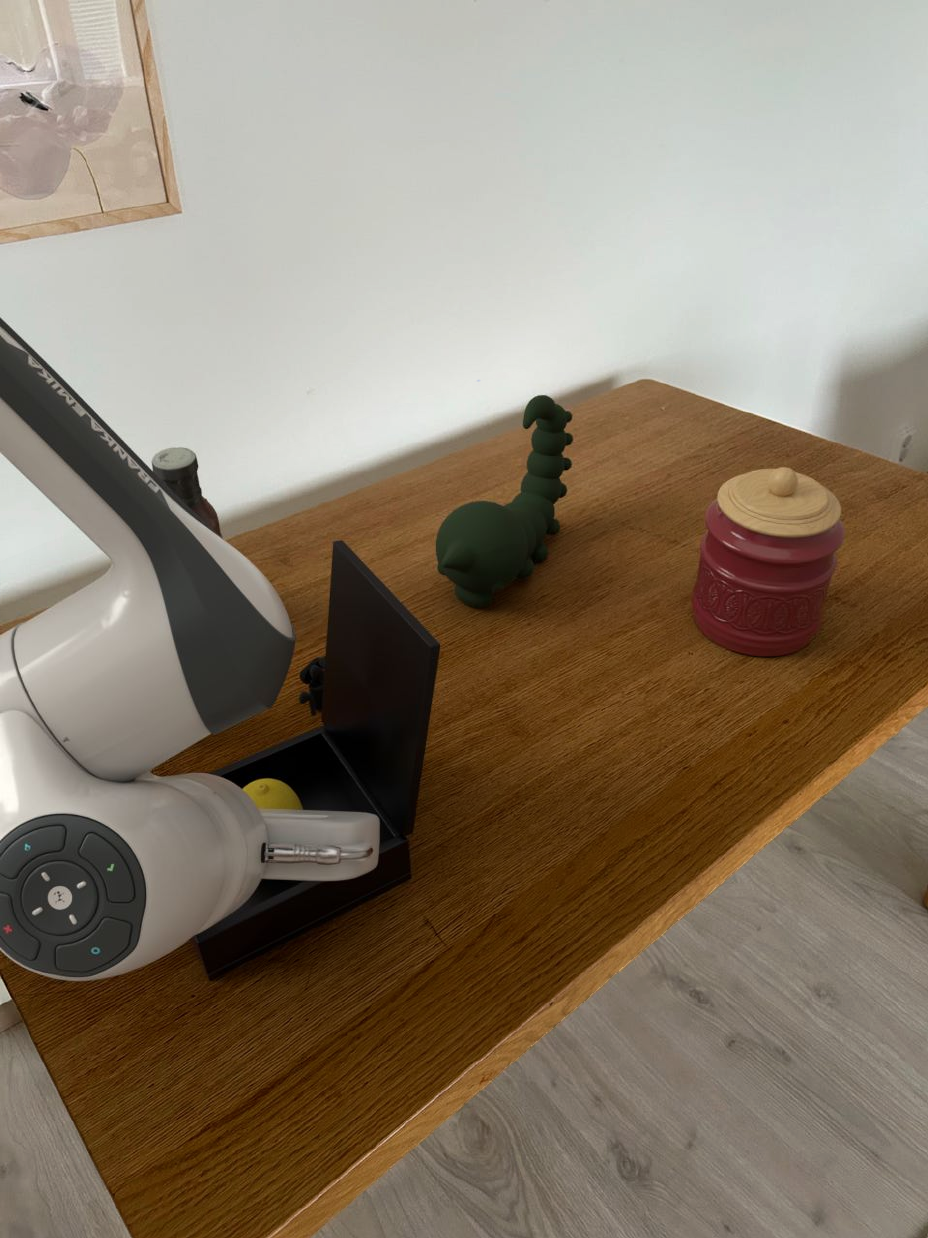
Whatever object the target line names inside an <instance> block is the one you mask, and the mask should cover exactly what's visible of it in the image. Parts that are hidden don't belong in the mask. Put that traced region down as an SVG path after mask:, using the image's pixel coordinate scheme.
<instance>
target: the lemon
mask: <svg viewBox="0 0 928 1238" xmlns="http://www.w3.org/2000/svg"><path fill="white" fill-rule="evenodd" d="M242 790H243V791H245V792H246V793H247V794H248V795H249V797H250V798H251V799H252V800H253V801H254V803H255V804H256V806H257V807H258V808H259V809H287V810H303V808H302V805H301V803H300V800H299V798H298V796H297V795H296V793H295V792H294V791H293V790H292V789H291V788H290V787H289V786H288V785H287V784H285V783H283V782H282V781H279V780H276V779H268V778H266V779H259V780H256V781H253V782H251V783H249V784H248V785H247V786H245V787H244V788H243V789H242Z"/></svg>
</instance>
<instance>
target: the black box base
mask: <svg viewBox="0 0 928 1238" xmlns="http://www.w3.org/2000/svg"><path fill="white" fill-rule="evenodd" d="M207 774H212V775H216V776H219V777H222V778H224V779H227V780H229V781H231V782H232V783H234V784H236V785H237V786H238V787H240V788H241V789H243V788H244V787H245V786H247V785H248V784H249V783H251V782H253V781H256V780H259V779H266V778H268V779H276V780H279V781H282V782H283V783H285V784H287V785H288V786H289V787H290V788H291V789H292V790H293V791H294V792H295V793H296V795H297V796H298V798H299V800H300V803H301V805H302V808H303V810H315V811H343V812H365V813H371V814H374V815H376V816H378V818H379V821H380V842H379V857H378V864H377V866H376V867H375V868H374V869H373V870H372V871H370V872H368V873H366V874H364V875H361V876H359V877H356V878H353V879H348V880H338V881H305V880H280V879H261V881H260V883H259V885H258V886H257V888H256V890H255V891H254V893H253V894H252V895H251V896H250V898H249V899H248V900H247V901H246V902H245V903H244V904H243V905H242V906H241V907H239V908H238V909H237V910H236V911H234V912H233V913H231V914H230V915H228V916H226V917H225V918H223V919H222V920H220V921H219V922H217V923H216V924H214V925H212V926H211V927H209V928H208V929H206V930H204V931H203V932H201V933H199V934H196V935H194V936H193V937H191V938H190V939H189V941H190V942H191V945H192V946H193V948H194V951H195V953H196V956H197V957H198V960H199V962H200V964H201V966H202V968H203V970H204V973H205V975H206V977H207V979H208V981H209V982H211V981H213V980H215V979H217V978H219V977H221V976H223V975H225V974H227V973H229V972H231V971H233V970H236V969H237V968H239V967H241V966H243V965H245V964H247V963H248V962H251V961H252V960H255V959H257V958H258V957H260V956H263V955H265V954H266V953H268V952H270V951H272V950H274V949H276V948H278V947H280V946H282V945H284V944H286V943H288V942H290V941H292V940H293V939H296V938H298V937H300V936H302V935H303V934H306V933H308V932H310V931H311V930H313V929H315V928H318V927H319V926H321V925H323V924H325V923H327V922H329V921H331V920H333V919H336V918H337V917H339V916H340V915H343V914H345V913H347V912H350V911H351V910H352V909H354V908H355V909H356V908H357V907H358V906H360V905H362V904H364V903H366V902H368V901H370V900H372V899H373V898H376V897H379V896H380V895H382V894H384V893H387V892H388V891H390V890H392V889H394V888H395V887H398V886H400V885H402V884H403V883H405V882H407V881H409V880H411V879H412V866H411V853H410V852H411V851H410V841H409V838H408V836H405V837H404V836H403V834H402V833H401V832H400V830H399V829H398V827H397V826H396V825H395V823H394V822H393V820H392V819H391V818H390V816H389V815H388V814H387V812H386V811H385V809H384V808H383V807H382V805H381V804H380V802H379V801H378V800H377V798H376V797H375V795H374V794H373V793H372V791H371V790H370V789H369V787H368V786H367V784H366V783H365V782H364V780H363V779H362V777H361V776H360V775H359V773H358V772H357V770H356V769H355V768H354V766H353V765H352V763H351V762H350V761H349V759H348V758H347V757H346V755H345V754H344V752H343V751H342V750H341V748H340V747H339V745H338V744H337V743H336V741H335V740H334V738H333V737H332V736H331V734H330V733H329V732H328V730H327V729H326V727H325V726H324V725H323V724H322V725H320V726H318V727H317V726H316V727H315V728H313V729H310V730H307V731H306V732H303V733H301V734H298V735H295V736H294V737H292V738H289V739H287V740H284V741H282V742H280V743H279V742H278V743H277V744H275V745H272V746H270V747H267V748H265V749H263V750H261V751H258V752H255V753H253V754H251V755H248V756H245V757H244V758H241V759H238V760H236V761H234V762H232V763H229V764H227V765H224V766H222V767H220V768H217V769H215V770H213V771H211V772H207Z"/></svg>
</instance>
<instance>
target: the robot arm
mask: <svg viewBox="0 0 928 1238" xmlns="http://www.w3.org/2000/svg"><path fill="white" fill-rule="evenodd" d="M0 454H1V455H2V456H3V457H5V459H6V460H7V461H9V463H10V464H12V465H13V466H14V467H15V469H17V470H18V471H19V472H20V473H21V474H22V475H23V476H24V478H26V479H27V480H28V481H29V482H30V483H31V484H32V485H33V486H34V487H35V488H36V489H37V490H38V491H39V492H41V493H42V494H43V496H45V497H46V499H48V500H49V501H50V502H51V503H52V504H53V505H54V506H55V507H56V508H57V509H58V510H59V511H60V512H61V513H62V514H64V516H65V517H67V519H68V520H70V521H71V522H72V523H73V525H75V526H76V527H77V528H78V529H79V530H80V531H81V532H82V533H83V534H84V535H85V536H86V537H87V538H88V539H89V540H90V541H91V542H92V543H93V544H94V545H95V546H97V547H98V548H99V549H100V550H101V552H103V553H104V555H106V556H107V557H108V558H109V559H110V561H111V562H112V563H111V566H110V567H109V568H108V570H107V572H105V573H104V574H103V575H102V576H100V577H98V578H97V579H96V580H94V581H92V582H91V583H89V584H87V585H85V586H84V587H82V588H81V589H79V590H77V591H76V592H74V593H72V594H70V595H69V596H67V597H65V598H64V599H61V601H59V602H57V603H56V604H54V605H52V606H50V607H48V608H47V609H45V610H43V611H41V612H40V613H39V614H37V615H35V616H34V617H32V618H29V620H27V621H23V622H19V624H17V625H15V626H13V627H12V628H10V629H8V630H7V631H5V632H3V633H2V634H0V952H2V953H3V955H5V956H6V957H7V958H8V959H9V960H11V961H12V962H14V963H15V964H17V965H18V966H20V967H22V968H24V969H25V970H27V971H29V972H33V973H35V974H37V975H41V976H44V977H47V978H51V979H54V980H62V981H69V982H90V981H97V980H98V981H99V980H102V979H107V978H108V979H109V978H112V977H116V976H120V975H124V974H127V973H130V972H133V971H135V970H138V969H140V968H143V967H145V966H148V965H149V964H152V963H154V962H156V961H157V960H160V959H161V958H163V957H165V956H167V955H168V954H170V953H172V952H174V951H175V950H177V949H178V948H180V947H182V945H184V944H186V943H187V942H189V941H190V938H191V937H193V936H194V935H196V934H199V933H201V932H203V931H204V930H206V929H208V928H209V927H211V926H212V925H214V924H216V923H217V922H219V921H220V920H222V919H223V918H225V917H226V916H228V915H230V914H231V913H233V912H234V911H236V910H237V909H238V908H239V907H241V906H242V905H243V904H244V903H245V902H246V901H247V900H248V899H249V898H250V896H251V895H252V894H253V893H254V891H255V890H256V888H257V886H258V885H259V883H260V881H261V879H280V880H305V881H338V880H348V879H353V878H356V877H359V876H361V875H364V874H366V873H368V872H370V871H372V870H373V869H374V868H375V867H376V866H377V864H378V857H379V842H380V821H379V818H378V816H376V815H374V814H371V813H365V812H343V811H315V810H287V809H259V808H258V807H257V806H256V804H255V803H254V801H253V800H252V799H251V798H250V797H249V795H248V794H247V793H246V792H245V791H243V790H242V789H241V788H240V787H238V786H237V785H236V784H234V783H232V782H231V781H229V780H227V779H224V778H222V777H219V776H216V775H212V774H208V773H206V772H188V773H180V774H173V775H166V776H158V775H155V774H154V773H152V772H151V771H152V770H153V769H155V768H157V767H158V766H160V765H162V764H163V763H165V762H167V761H168V760H170V759H172V758H173V757H175V756H177V755H178V754H180V753H181V752H183V751H185V750H187V749H189V748H190V747H192V746H194V745H195V744H197V743H198V742H200V741H202V740H203V739H205V738H206V737H208V736H210V735H214V736H216V735H218V734H219V733H222V732H224V731H226V730H228V729H230V728H232V727H234V726H236V725H238V724H240V723H242V722H245V721H246V720H248V719H251V718H253V717H255V716H257V715H259V714H261V713H263V712H265V711H267V710H269V709H272V708H273V706H274V705H275V702H276V701H277V699H278V697H279V695H280V693H281V691H282V689H283V687H284V684H285V682H286V679H287V677H288V674H289V670H290V667H291V664H292V661H293V657H294V653H295V647H296V643H297V634H296V631H295V628H294V626H293V624H292V623H291V619H290V616H289V614H288V611H287V609H286V607H285V604H284V602H283V601H282V599H281V597H280V596H279V595H280V594H279V593H278V592H277V590H276V589H275V588H274V586H273V584H272V583H271V581H270V580H269V579H268V578H267V577H266V576H265V574H263V572H262V571H261V570H260V569H259V568H258V567H257V566H256V565H255V564H254V563H253V562H252V561H251V560H250V559H248V557H246V556H245V555H244V554H242V553H241V552H240V551H239V550H238V549H236V548H235V547H234V546H232V545H231V544H230V543H228V542H227V541H226V540H225V539H224V537H223V538H222V537H220V536H219V535H218V534H217V533H216V532H215V531H214V530H213V529H212V528H211V527H210V526H208V525H207V524H206V523H205V522H204V521H203V520H202V519H201V518H200V517H199V516H197V515H196V514H195V513H194V512H193V511H192V510H191V509H190V508H189V507H188V506H187V505H186V504H185V503H184V502H183V501H182V500H181V499H180V498H179V497H178V496H177V495H176V494H174V492H173V491H172V490H171V489H170V488H169V487H168V486H167V485H166V484H165V483H164V482H163V481H162V480H161V479H160V478H159V477H158V476H157V475H156V474H155V473H154V472H153V469H152V468H150V466H148V465H147V463H146V462H145V461H143V459H142V458H141V457H140V456H139V455H138V454H137V452H135V451H134V450H133V449H132V448H131V447H130V446H129V445H128V444H127V443H126V442H125V440H123V439H122V437H120V436H119V435H118V434H117V432H115V430H114V429H113V428H112V427H110V425H109V424H108V423H106V421H105V420H104V419H103V418H102V417H101V416H100V415H99V414H98V413H97V412H96V411H95V410H94V409H93V408H92V407H91V406H90V405H89V404H88V403H87V402H86V401H85V400H84V399H83V397H82V396H81V395H80V394H79V393H78V392H77V391H76V390H75V389H74V388H73V387H72V386H71V385H70V384H69V383H68V382H67V381H66V380H65V379H64V378H63V377H62V376H61V375H60V374H59V373H58V372H57V371H56V370H55V369H54V368H53V367H52V366H51V365H50V364H49V363H48V362H47V361H46V360H45V359H44V358H43V357H42V356H41V355H40V354H39V353H38V352H37V351H36V350H35V349H34V348H33V347H32V346H31V345H29V344H28V342H27V341H25V340H24V339H23V337H21V336H20V335H19V334H18V332H16V331H15V330H14V329H13V328H12V327H11V326H10V325H9V324H8V323H7V322H6V321H5V320H4V319H3V318H2V317H1V316H0Z"/></svg>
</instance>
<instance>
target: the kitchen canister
mask: <svg viewBox="0 0 928 1238" xmlns="http://www.w3.org/2000/svg"><path fill="white" fill-rule="evenodd" d="M841 515H842V506H841V503H840V501H839V500H838V498H837V497H836V495H835V494H834V493H832V491H830V490H829V489H828V488H827V487H825V486H823V484H821V483H820V482H819V481H817V480H815V478H814V479H813V478H812V477H810V476H808V475H805V474H803V473H800V472H797V471H795V470H794V469H792V468H790V467H785V466H781V467H777V468H761V469H756V470H752V471H749V472H746V473H742V474H739V475H736V476H734V477H732V478H730V479H728V480H726V481H725V482H724V483H723V484H722V485H721V487H719V490H718V492H717V497H716V498H715V499H714V500H713V501H712V502H711V503H710V504H709V505H708V507H707V508H706V511H705V514H704V523H705V526H706V529H707V530H706V531H705V532H704V533H703V535H702V537H701V539H700V546H699V548H700V549H699V550H700V556H699V561H698V568H697V574H696V580H695V583H694V586H693V588H692V595H691V608H692V617H693V620H694V623H695V624H696V626H697V628H698V629H699V630H700V631H701V632H702V633H703V634H704V635H705V636H706V637H707V638H708V639H710V640H711V641H713V642H714V643H716V644H718V646H721V647H724V649H725V648H726V649H727V650H729V651H733V652H736V653H739V654H744V655H748V656H754V657H755V656H756V657H780V656H784V655H789V654H792V653H795V652H798V651H799V650H802V649H803V648H805V647H806V646H807V645H809V643H811V642H812V640H813V639H814V637H815V636H816V633H817V632H818V631H819V629H820V627H821V625H822V620H823V619H824V618H823V617H824V614H825V613H824V611H825V608H824V606H825V603H826V598H827V596H828V592H829V588H830V585H831V580H832V577H833V575H834V573H835V572H836V569H837V567H838V558H837V553H836V552H837V551H838V550H839V549H840V548H841V546H842V545H843V542H844V540H845V536H846V531H845V526H844V524H843V522H842V519H840V518H841Z"/></svg>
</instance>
